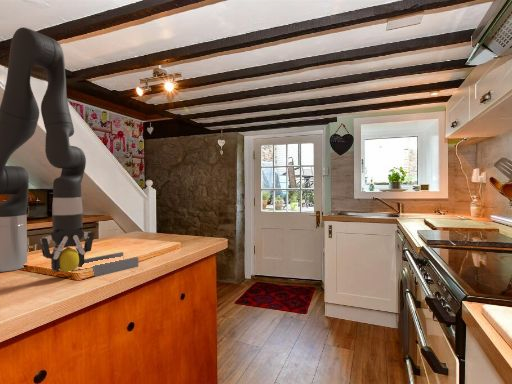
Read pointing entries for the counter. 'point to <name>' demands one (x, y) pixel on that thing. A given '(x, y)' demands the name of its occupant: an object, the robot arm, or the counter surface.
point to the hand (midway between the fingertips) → (68, 268)
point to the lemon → (68, 259)
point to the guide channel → (112, 264)
